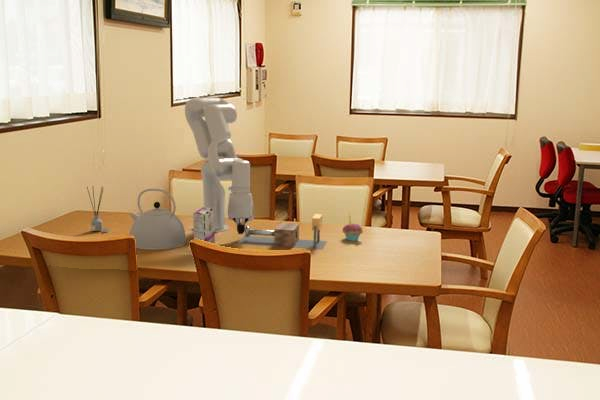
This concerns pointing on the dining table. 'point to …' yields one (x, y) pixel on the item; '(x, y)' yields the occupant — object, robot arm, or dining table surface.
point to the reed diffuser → (97, 217)
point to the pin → (258, 232)
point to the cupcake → (352, 231)
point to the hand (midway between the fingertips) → (240, 233)
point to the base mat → (270, 242)
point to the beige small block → (317, 221)
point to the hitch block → (290, 235)
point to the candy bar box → (204, 224)
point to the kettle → (157, 227)
